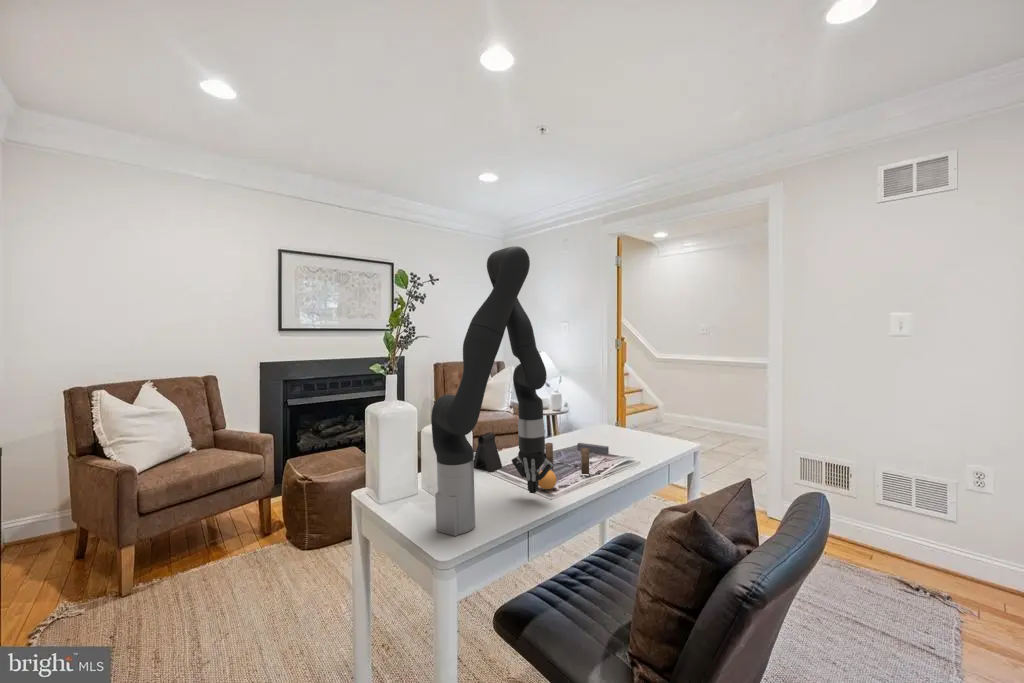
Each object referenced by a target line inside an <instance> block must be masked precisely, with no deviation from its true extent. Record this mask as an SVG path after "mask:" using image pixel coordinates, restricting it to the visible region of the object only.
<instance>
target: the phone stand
mask: <svg viewBox="0 0 1024 683" xmlns="http://www.w3.org/2000/svg"><path fill="white" fill-rule="evenodd" d="M501 460H502V459H501V458H500V454H499V450H498V447H497V443H496V435H495V433H494V432H487V433H485V434H483V435H480V436H478V438H477V448H476V451H475V455H474V470H480V471H483V472H488V473H491V472H492V473H493V471H494V472H495V470H496V471H498V470H500V469H502V468H503V464H502V461H501ZM497 469H498V470H497Z"/></svg>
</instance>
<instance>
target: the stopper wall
mask: <svg viewBox="0 0 1024 683" xmlns="http://www.w3.org/2000/svg"><path fill="white" fill-rule="evenodd" d="M576 448H577V451H580V450H581V448H589V451H591V452H590V453H594V452H598V453H597V454H601V453H603V455H608V454H609V446H608V445H599V444H593V443H585V442H577V447H576Z"/></svg>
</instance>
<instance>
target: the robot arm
mask: <svg viewBox="0 0 1024 683" xmlns="http://www.w3.org/2000/svg"><path fill="white" fill-rule="evenodd" d="M530 261H531V260H530V256H529V254H528V252H527V250H526V249H525V248H523V247H521V246H518V245H517V246H509V247H504V248H501V249H498V250H495V251H493V252H492V253H490V255H489V256H488V258H487V261H486V270H487V275H488V278H489V279H490V280H489V281H490V283H491V285H492V290H491V292H490V293H489V295H488V297H487V298H486V299H485V300H484V302H483V303H482V305H480V307H479V308H478V309H477V311H476V313H475V314H473V317H472V319H471V320H470V322H469V326H468V327H467V328H468V329H467V331H466V334H465V337H464V340H463V345H462V364H463V365H462V368H463V371H462V375H461V376H462V377H461V380H460V383H459V385H458V386H459V387H458V389H457V391H456V394H455V395H454V394H445V395H441V396H440V397H439V398H437V399H436V401H435V402H434V404H433V406H432V410H431V418H430V419H431V421H430V422H431V434H432V436H431V438H432V444H433V446H432V447H433V450H434V452H435V455H436V479H437V480H436V481H437V492H436V493H435V495H434V497H435V498H434V499H435V500H434V501H435V531H436V532H439V533H442V534H443V533H444V534H447V535H450V536H453V537H457V536H459V535H463V534H466V533H468V532H471V531H472V530H473V529H474V528H475V527H476V505H475V504H476V502H475V500H476V499H475V497H476V496H475V469H474V458H475V455H474V448H473V446H472V445H471V443H470V442H469V441H468V439H467V435H469V433H471V432H472V431H473V430H474V429H475V427H476V425H477V423H478V420H479V418H480V414H481V410H482V406H483V402H484V397H485V393H486V389H487V386H488V382H489V378H490V375H491V373H492V369H493V367H494V363H495V360H496V357H497V355H498V352H499V351H500V350H499V349H500V347H501V343H502V341H503V338H504V336H505V335H504V334H505V331H507V335H508V340H509V344H510V349H511V353H512V355H513V356H514V357H515V358H517V359H518V362H519V364H517V365H516V367H515V368H514V370H513V375H512V381H513V382H512V384H513V388H514V392H515V395H516V400H517V404H518V405H517V406H518V407H517V408H518V409H517V410H518V424H517V429H518V430H517V431H518V434H517V435H518V436H517V437H518V450H519V451H518V454H517V456H515V457H514V458H512V459H511V463H512V465H513V466H514V467H515V468H516V470H517V472H518V473H519V475H520V476H521V478H524V479H526V482H527V491H528V492H529V494H532V495H533V494H534V495H535V494H536V493H537V492H539V489H540V486H539V485H538V480H541V479H542V478H544V477H545V475H546V474H547V473H548V472H549V470H550V469H551V468H552V467H553V468H554V464H555V463H554V461H553V462H549V461H548V460H547V459H546V458H547V456H546V454H545V443H546V435H545V434H546V429H545V422H544V403H543V400H542V398H541V397H540V396H539V395H538V394H537V390H540V389H542V388H544V386H545V384H546V382H547V370H546V367H545V363H544V361H543V359H542V356H541V354H540V352H539V350H538V347H537V343H536V338H535V332H534V329H533V325H532V322H531V319H530V317H529V316H528V314H527V313H526V311H525V309H524V307H523V306H522V304H521V303H520V300H519V298H518V296H519V294H520V292H521V289H522V287H523V285H524V283H525V281H526V279H527V276H528V274H529V270H530V265H531V262H530ZM506 329H507V330H506ZM542 466H543V469H542V470H541V467H542ZM540 471H542V472H541V473H540V474H539V472H540Z"/></svg>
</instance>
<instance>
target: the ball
mask: <svg viewBox="0 0 1024 683" xmlns="http://www.w3.org/2000/svg"><path fill="white" fill-rule="evenodd" d="M541 472H542V470H540V471H539V474H540V473H541ZM556 484H557V476H556V473H555V472H554V471H553V470H552V471H551V470H549V472H548V473H547V474H546V475H545V477H544V478H542V479H541V480H538V485H539V488H540V489H542V488H544V489H549V490H552V489H553V488H554V487H555V486H556ZM551 488H552V489H551ZM544 489H543V490H544Z"/></svg>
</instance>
